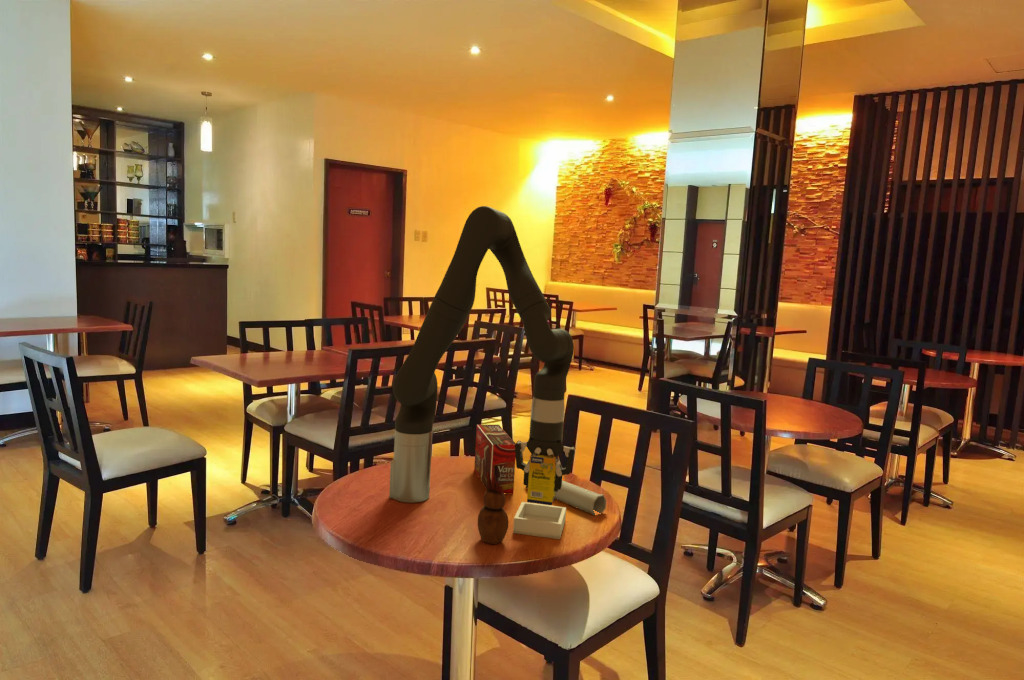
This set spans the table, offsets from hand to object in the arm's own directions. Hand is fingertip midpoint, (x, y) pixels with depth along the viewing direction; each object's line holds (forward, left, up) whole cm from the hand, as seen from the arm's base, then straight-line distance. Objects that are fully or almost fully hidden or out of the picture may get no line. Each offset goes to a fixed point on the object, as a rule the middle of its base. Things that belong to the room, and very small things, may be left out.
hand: (542, 488), depth 158 cm
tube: (+3, +20, -10) cm, 22 cm away
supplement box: (0, 0, -3) cm, 3 cm away
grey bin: (0, 0, -9) cm, 9 cm away
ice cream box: (-17, +27, -9) cm, 34 cm away
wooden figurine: (-9, -11, -9) cm, 17 cm away
